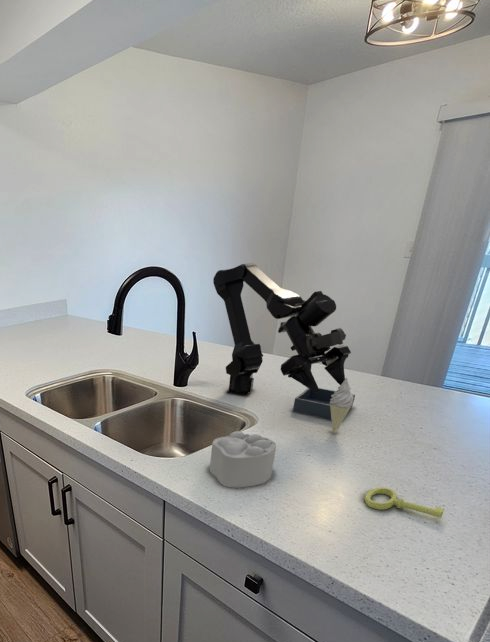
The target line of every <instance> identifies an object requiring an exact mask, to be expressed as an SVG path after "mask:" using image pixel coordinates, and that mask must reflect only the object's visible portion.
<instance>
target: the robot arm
mask: <svg viewBox="0 0 490 642" xmlns="http://www.w3.org/2000/svg"><path fill="white" fill-rule="evenodd" d="M212 281H213V286H214V289H215V291H216V294H217V295H218V296H219V297H220V298H221V299H222V301H224V306H225V310H226V315H227V318H228V322H229V326H230V331H231V335H232V339H233V344H234V347H233V349H232V353H231V362H229V363H228V364H227V365H226V366H225V373H226V374H227V375H229V384H228V389H227V390H226V393H227V394H232V395H239V396H248V395H250V393H251V392H252V391H253V390H254V382H255V378H254V377H253V376H254V374H257V373H258V372H259V369H260V367H261V366H262V363H263V357H264V354H263V352H262V346H261V344H260V343H254V341H253V340H252V338H251V332H250V329H249V325H248V321H247V316H246V312H245V308H244V303H243V300H242V292H243V290H244V283H245V284H247V286H248V287H250V288H251V289H252V290H253V291H254V292H255V293H256V294H257V295H259V297H260V298H262V299H263V301H264V302H265V303H266V304H265V305H266V310H267V311H268V312H269V313H270V315H271V316H272V317H273V318H274V319H275V320H280V319H286V318H288V319H287V320H285V321H282V322H280V325H279V328H278V330H277V333H279V334H281V333H286V334H287V336H288V338H289V340H290V342H291V343H292V345H291V346H290V350H291V352H292V351H295V352H296V353H297V354H295V355H292V356H291V357H289V358H288V359H287V360H285V361H284V362H283V363H282V364H281V365H280V369H279V370H280V371H281V374H282V375H283V376H285V377H286V376H287V377H288V378H291V379H293V380H294V381H296V382H298V383H299V384H301V385H303V386H304V387H306V388H307V389H308V388H309V389H310V390H311V391H313V392H314V393H317V392H319V389H318V388H319V386H318V383H317V381H316V379H315V377H314V375H313V372H312V365H314V364H317V363H319V364H320V363H321V364H322V365H323V366H324V370H325V371H326V372H327V373H328V374H329V375H330V377H332V379H334V381H335V382H336V383H337V384H338V385H339V386H340V385H341V384H342V383H343V382H344V380H345V379H346V377H345V376H346V375H345V362H346V359H348V358H349V355H350V354H352V352H351V349H350V348H349V346H348V345H344V341H345V340H346V337H347V335H346V333H345V331H344V330H343V328H342V327H339V328H335V329H331V330H330V332H329V333H326V334H322V333H320V332H315V331H314V329H313V327H317V326H319V325H320V324H321V323H323V322H324V321H326V320H327V319H328V317H330V316H331V315H332V314H334V313H335V312H336V311H337V304H336V301H335V300H334V299H332V298H331V297H330V296H328V294H324V293H323V291H322V290H317V291H314V292H313V293H312V294H311V295H310V296H309V297H308V298H307V299H306V300H305V299H303V298H302V296H301V295H299V294H298V293H296V292H294V291H292V290H290V289H289V290H288V289H286V288H282V287H280V286H279V285H278V284H276V283H275V281H273V280H272V279H271V278H270V277H269V276H268V275H267V274H265V273H264V271H262V270H261V269H259V268H258V265H257V264H256V263H253V262H251V263H241V264H240V265H237V266H235V267H233V268H228V269H227V268H226V269H219V270H217V271H216V273H215V275H214V276H213V280H212ZM337 345H338V346H337ZM331 347H332V348H331Z"/></svg>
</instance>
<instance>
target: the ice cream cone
mask: <svg viewBox="0 0 490 642" xmlns="http://www.w3.org/2000/svg"><path fill="white" fill-rule="evenodd" d="M351 389H352V388H351V387H350V383H349V381H348V376H346V377H345V380H344V382H343V383H342V384H341V385H339V386H338V387H337V390H335V391H336V392H334V393H335V394H333V395H331V397H333V398H332V399H330V402H329V404H330V409H331V419H332V420H331V427H332V433H333V434H336V432H337V431H338V429H339V427H340V426H341V424H342V423H343V421H344V420H345V418H346V416H347V415H348V413H349V412H350V410H351V409H352V408H353V406H352V403H353V404H354V402H353V395H352V394H353V393H351ZM351 407H352V408H351ZM350 408H351V409H350ZM349 409H350V410H349Z"/></svg>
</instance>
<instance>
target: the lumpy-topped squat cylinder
mask: <svg viewBox="0 0 490 642" xmlns="http://www.w3.org/2000/svg"><path fill="white" fill-rule="evenodd" d="M276 450H277V445H276V442H275V441H273V440H272V439H271V438H268V437H264V436H262V435H260V434H256V433H254V434H253V433H252V434H248V433H244V432H242V431H239V430H237V431H233V432H231V433H230V434H229V435H226V436H220V437H216V438H215V439H213V440H212V443H211V453H210V463H209V472H210V473H211V475H212V476H214V477H215V478H216V479H217V481H218V482H219V484H221V485H222V486H224V487H227V488H233V489H235V488H236V489H237V488H250V487H254V486H259V485H263V484H265V483H267V482H268V481H269V480H270V479H271V477H272V475H273V469H274V468H273V467H274V462H275V455H276Z"/></svg>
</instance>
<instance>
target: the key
mask: <svg viewBox="0 0 490 642" xmlns="http://www.w3.org/2000/svg"><path fill="white" fill-rule="evenodd" d="M378 494H380V495H381V494H383V495H387V496H389V497H391V498H390V499H389V500H386V501H384V502H377V501H374V500H372V497H373V496H375V495H378ZM397 496H398V495H397V492H396V491H395V490H393V489H391V488H388V487H376V488H372V489H371V490H369V491H367V492H366V494H365V495H364V497H363V498H364V501H365V504H366V505H367V506H368V507H369V508H372V509H376V510H387V509H390V508H392V507H393V506H396V507H397V509H401V508H403V509H408V510H412V511H415V512H419V513H423V514H425V515H429V516H433V517H436V518H440V519H441V518H442V517H443V514H444V511H445V508H444V507H442V508H441V507H439V506H436V507H435V508H432V507H428V506H424V505H420V504H416V503H413V502H409V501H405V500H404V499H403V498H401V497H400V498H399V499H398V497H397Z"/></svg>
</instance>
